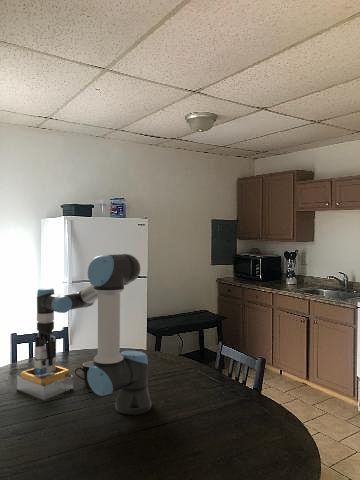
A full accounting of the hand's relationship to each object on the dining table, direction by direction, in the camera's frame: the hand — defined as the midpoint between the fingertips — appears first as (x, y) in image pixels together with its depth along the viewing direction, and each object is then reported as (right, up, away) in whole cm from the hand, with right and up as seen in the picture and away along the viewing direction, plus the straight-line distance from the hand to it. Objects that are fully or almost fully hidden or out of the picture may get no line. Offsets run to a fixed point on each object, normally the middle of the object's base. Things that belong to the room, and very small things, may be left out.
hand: (45, 370), depth 185 cm
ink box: (0, 0, 0) cm, 0 cm away
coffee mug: (+19, -9, +6) cm, 22 cm away
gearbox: (-2, -9, +1) cm, 9 cm away
